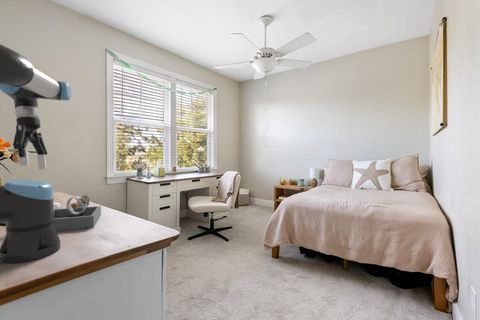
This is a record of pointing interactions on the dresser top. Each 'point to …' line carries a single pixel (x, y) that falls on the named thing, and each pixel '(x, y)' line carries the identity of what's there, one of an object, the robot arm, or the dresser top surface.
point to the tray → (76, 218)
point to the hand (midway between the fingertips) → (34, 167)
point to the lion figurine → (75, 205)
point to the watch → (81, 202)
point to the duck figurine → (56, 205)
